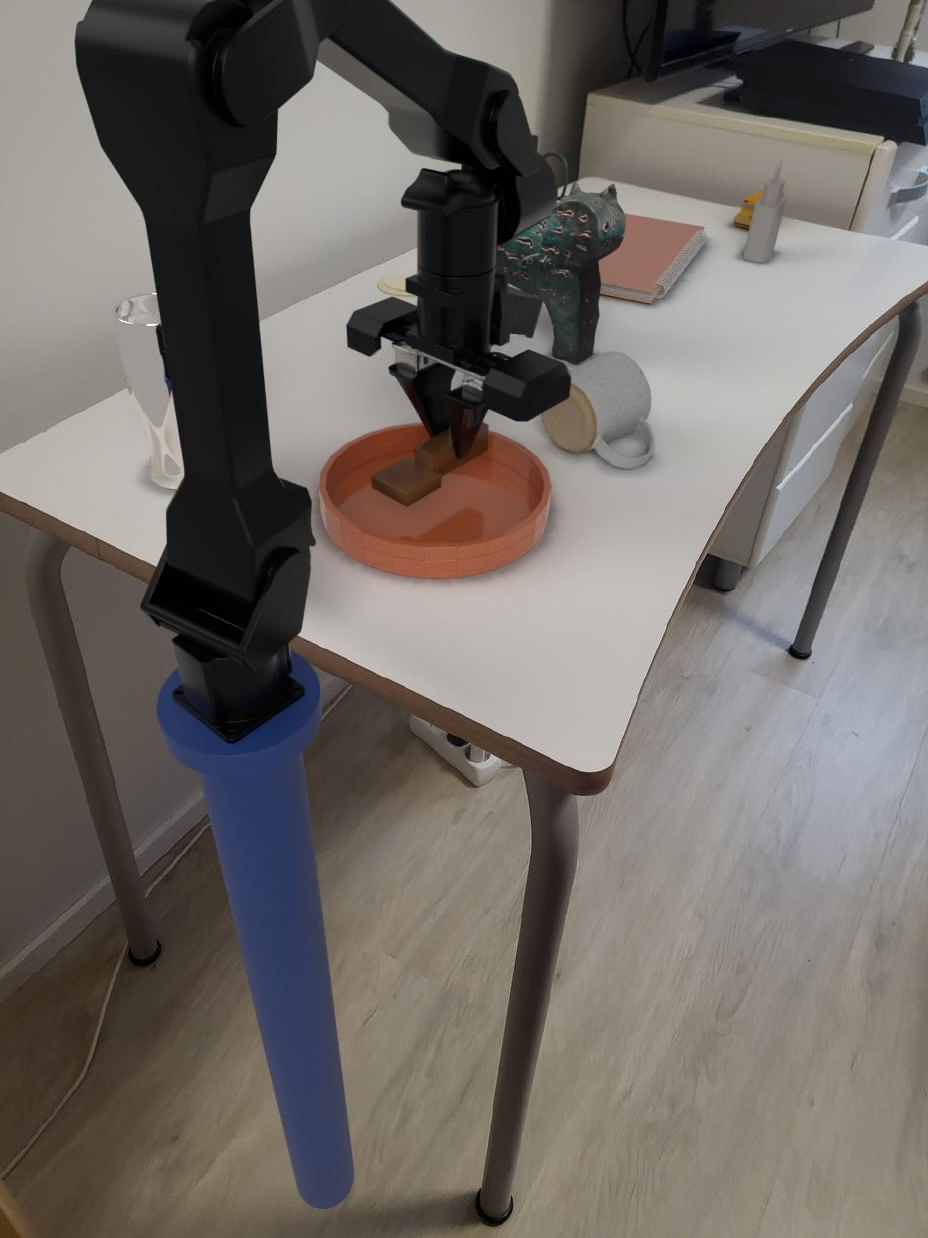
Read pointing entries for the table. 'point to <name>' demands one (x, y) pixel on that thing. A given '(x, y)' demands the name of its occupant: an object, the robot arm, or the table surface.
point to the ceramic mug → (603, 409)
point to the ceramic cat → (567, 263)
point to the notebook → (649, 258)
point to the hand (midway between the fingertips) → (451, 451)
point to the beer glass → (149, 383)
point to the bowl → (435, 507)
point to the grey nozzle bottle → (766, 220)
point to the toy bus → (747, 210)
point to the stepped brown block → (425, 467)
